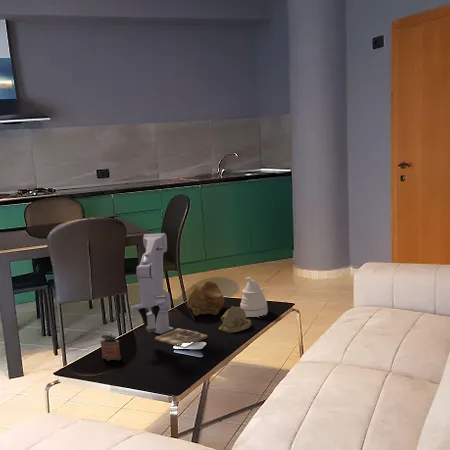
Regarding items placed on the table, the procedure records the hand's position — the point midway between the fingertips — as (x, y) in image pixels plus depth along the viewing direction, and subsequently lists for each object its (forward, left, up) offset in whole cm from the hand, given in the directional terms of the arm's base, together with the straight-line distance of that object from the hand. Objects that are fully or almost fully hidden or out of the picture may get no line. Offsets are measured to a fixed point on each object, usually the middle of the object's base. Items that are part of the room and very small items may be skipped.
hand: (150, 324), depth 231 cm
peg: (0, 0, -2) cm, 2 cm away
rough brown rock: (-11, +47, -10) cm, 49 cm away
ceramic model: (+15, +36, -10) cm, 40 cm away
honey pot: (+10, +56, -10) cm, 58 cm away
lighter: (-4, -18, -10) cm, 21 cm away
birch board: (+4, +13, -9) cm, 17 cm away
